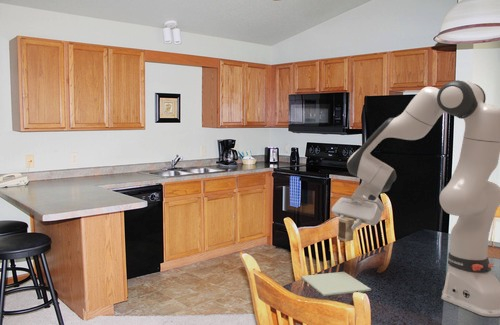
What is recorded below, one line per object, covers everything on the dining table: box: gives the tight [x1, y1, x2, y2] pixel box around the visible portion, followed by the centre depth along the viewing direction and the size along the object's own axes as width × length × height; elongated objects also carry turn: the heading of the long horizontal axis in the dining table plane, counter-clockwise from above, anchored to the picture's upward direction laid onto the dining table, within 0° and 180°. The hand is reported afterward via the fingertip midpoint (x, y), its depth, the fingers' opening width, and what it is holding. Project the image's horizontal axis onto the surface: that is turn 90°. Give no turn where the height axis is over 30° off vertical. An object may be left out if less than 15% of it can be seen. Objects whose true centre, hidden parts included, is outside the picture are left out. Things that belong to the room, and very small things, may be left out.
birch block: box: [337, 217, 355, 243], centre depth 165 cm, size 4×4×8 cm
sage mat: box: [300, 271, 372, 297], centre depth 155 cm, size 18×18×1 cm
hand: (345, 227), depth 165 cm, fingers closed on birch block, 4 cm apart
